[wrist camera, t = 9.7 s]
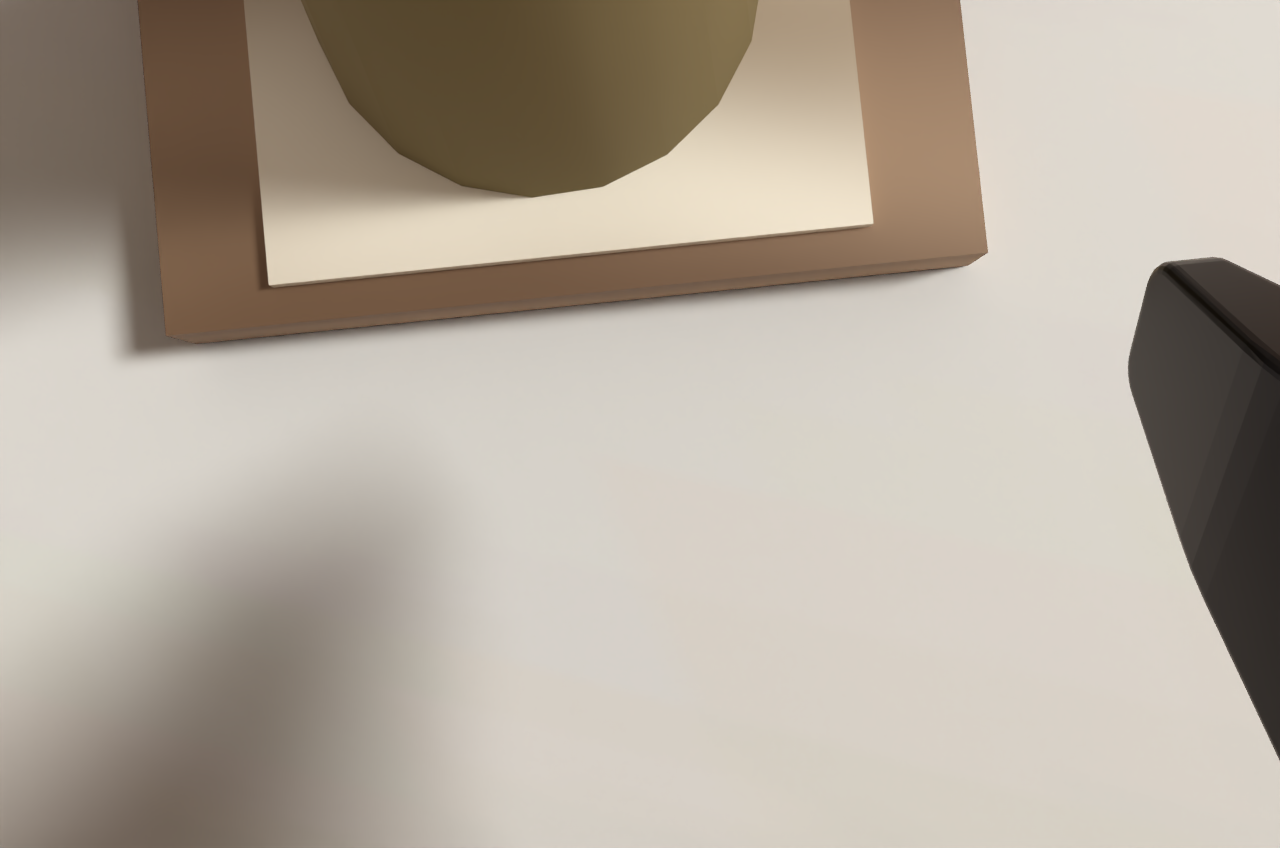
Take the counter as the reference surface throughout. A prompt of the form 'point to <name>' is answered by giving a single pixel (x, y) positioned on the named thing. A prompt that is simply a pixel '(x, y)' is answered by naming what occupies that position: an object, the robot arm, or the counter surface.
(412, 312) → the pin board
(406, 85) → the cork
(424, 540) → the counter surface
